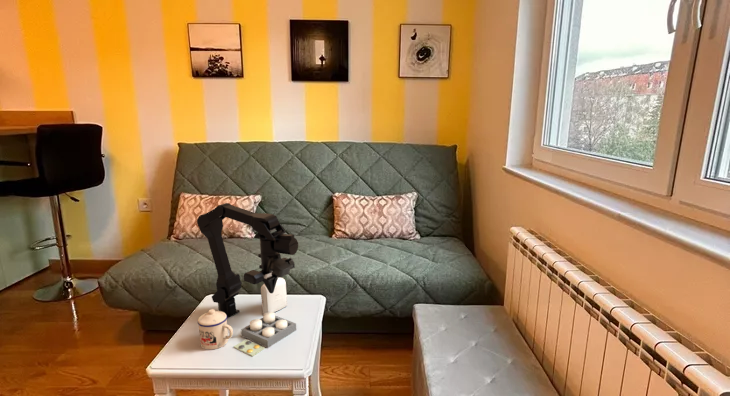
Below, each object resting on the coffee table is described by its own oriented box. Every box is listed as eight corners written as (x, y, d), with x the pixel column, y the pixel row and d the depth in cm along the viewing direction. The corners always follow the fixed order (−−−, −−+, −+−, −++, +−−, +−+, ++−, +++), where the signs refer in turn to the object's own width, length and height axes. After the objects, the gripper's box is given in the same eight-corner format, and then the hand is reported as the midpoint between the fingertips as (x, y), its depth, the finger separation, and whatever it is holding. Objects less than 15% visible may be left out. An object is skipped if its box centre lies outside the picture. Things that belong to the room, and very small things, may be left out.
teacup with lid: (193, 347, 131) (190, 314, 129) (212, 333, 140) (209, 302, 137) (224, 354, 127) (221, 320, 125) (242, 339, 136) (239, 307, 133)
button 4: (273, 330, 139) (272, 323, 139) (281, 325, 143) (281, 318, 142) (281, 333, 137) (281, 326, 137) (290, 328, 140) (289, 321, 140)
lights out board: (227, 344, 133) (226, 337, 132) (270, 319, 148) (270, 313, 148) (253, 357, 126) (253, 349, 125) (296, 329, 141) (296, 323, 140)
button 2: (260, 338, 134) (259, 331, 134) (269, 332, 138) (268, 325, 137) (268, 341, 132) (267, 334, 132) (277, 336, 135) (276, 329, 135)
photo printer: (267, 316, 151) (265, 285, 148) (260, 313, 153) (258, 282, 151) (289, 306, 158) (287, 276, 156) (281, 303, 161) (280, 274, 158)
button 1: (247, 329, 138) (247, 322, 137) (256, 324, 141) (256, 318, 140) (255, 333, 135) (255, 326, 135) (264, 328, 139) (264, 321, 138)
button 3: (261, 322, 142) (260, 315, 142) (269, 317, 146) (269, 311, 145) (269, 325, 140) (268, 318, 140) (277, 320, 143) (277, 313, 143)
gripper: (263, 264, 128) (266, 309, 131) (304, 248, 143) (306, 289, 146) (241, 257, 134) (244, 300, 138) (282, 242, 149) (284, 281, 152)
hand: (271, 292), depth 143 cm, fingers closed
